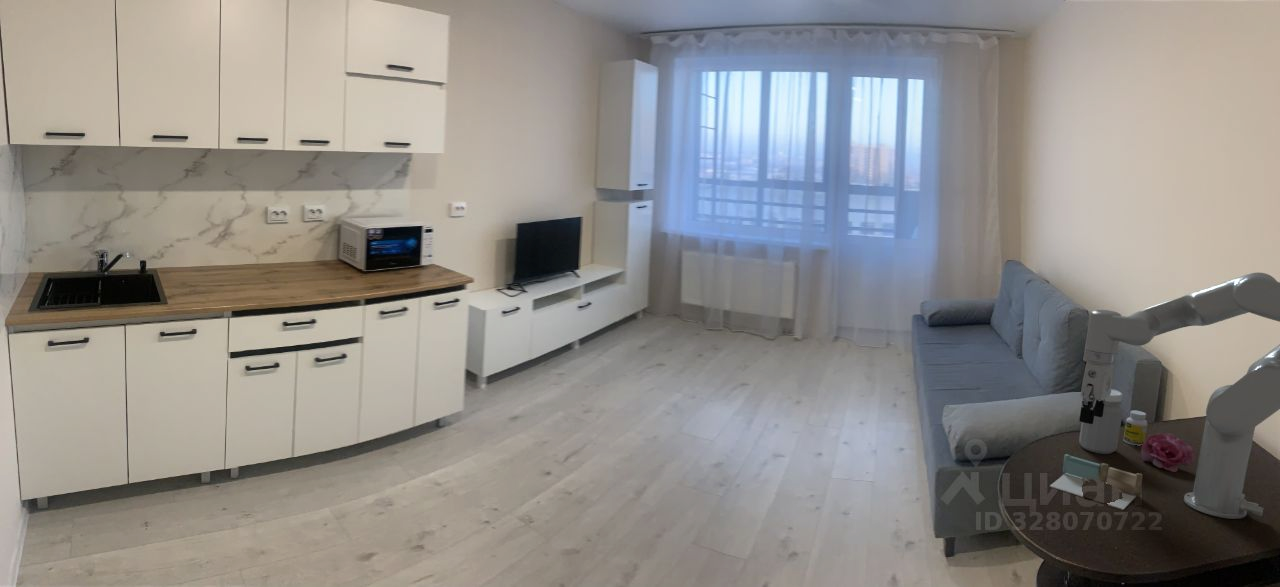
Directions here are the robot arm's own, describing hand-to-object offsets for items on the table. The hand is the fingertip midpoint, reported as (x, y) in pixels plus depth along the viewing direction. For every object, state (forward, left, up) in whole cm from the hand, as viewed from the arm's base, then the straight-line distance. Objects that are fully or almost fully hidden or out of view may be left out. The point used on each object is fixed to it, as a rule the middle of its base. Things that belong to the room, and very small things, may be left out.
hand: (1091, 418), depth 205 cm
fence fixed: (-10, +5, -16) cm, 19 cm away
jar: (+3, -23, -16) cm, 28 cm away
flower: (-14, -24, -16) cm, 32 cm away
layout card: (-5, +9, -16) cm, 19 cm away
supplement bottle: (-3, -37, -16) cm, 40 cm away
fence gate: (-1, +5, -15) cm, 16 cm away
